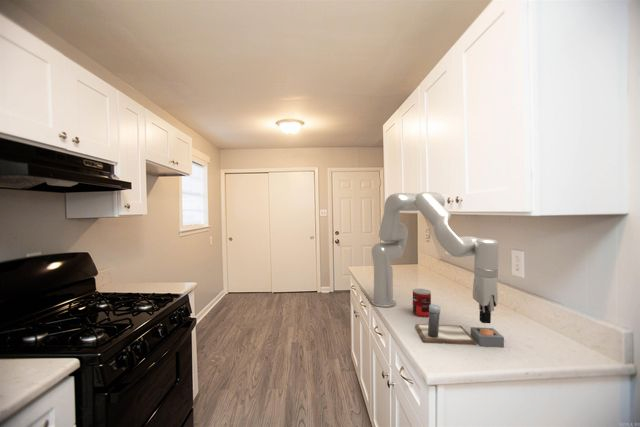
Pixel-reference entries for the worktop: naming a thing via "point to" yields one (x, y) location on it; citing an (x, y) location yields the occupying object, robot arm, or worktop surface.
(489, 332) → the button
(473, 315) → the worktop surface
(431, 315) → the grey tall cylinder
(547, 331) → the worktop surface
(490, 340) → the button housing
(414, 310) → the canned food
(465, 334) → the board
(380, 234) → the robot arm
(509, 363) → the worktop surface
